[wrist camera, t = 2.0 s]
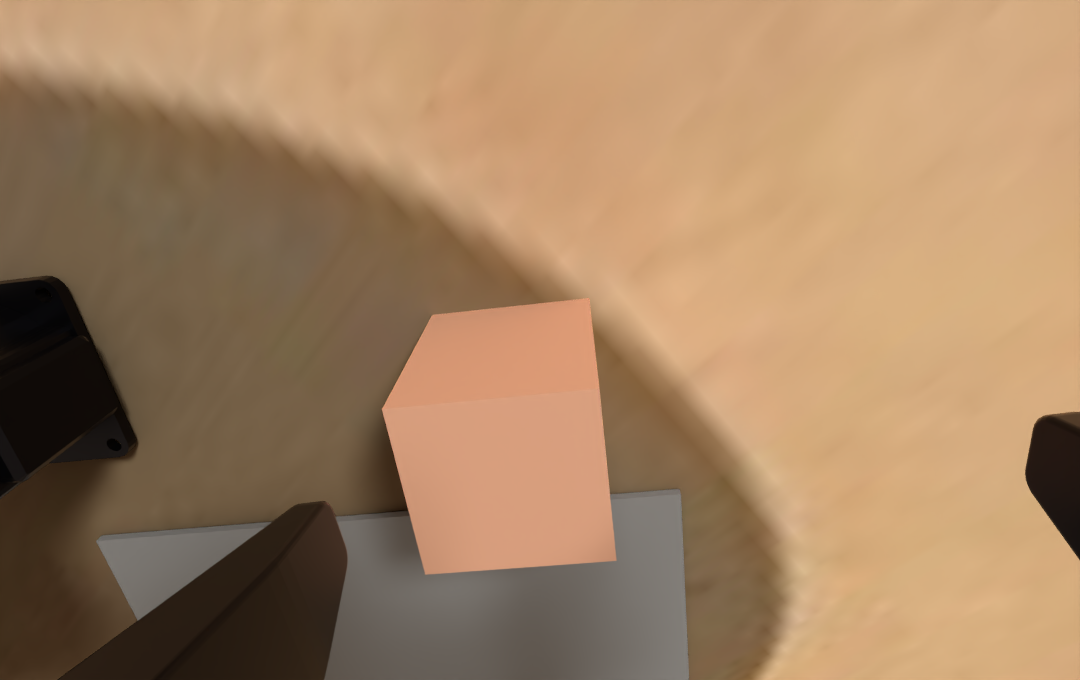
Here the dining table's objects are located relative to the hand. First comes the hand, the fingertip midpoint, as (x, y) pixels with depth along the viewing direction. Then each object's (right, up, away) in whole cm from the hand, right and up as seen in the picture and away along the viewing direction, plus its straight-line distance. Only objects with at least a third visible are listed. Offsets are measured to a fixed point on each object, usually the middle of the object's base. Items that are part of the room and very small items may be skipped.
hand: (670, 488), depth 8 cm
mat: (-7, -12, +18) cm, 23 cm away
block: (-2, +1, +12) cm, 13 cm away
